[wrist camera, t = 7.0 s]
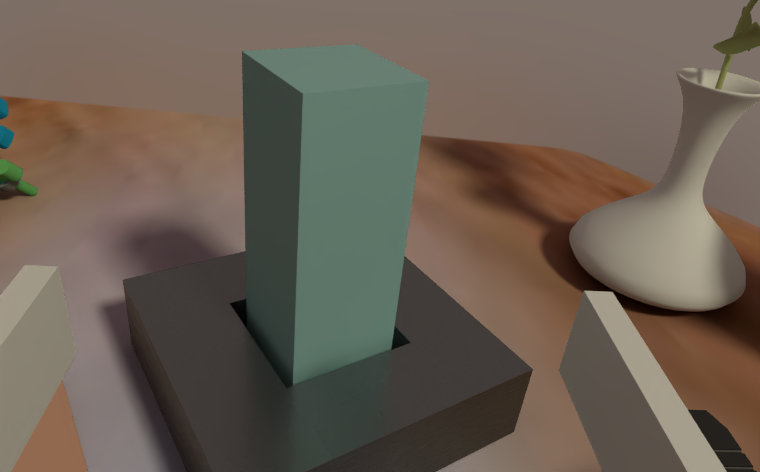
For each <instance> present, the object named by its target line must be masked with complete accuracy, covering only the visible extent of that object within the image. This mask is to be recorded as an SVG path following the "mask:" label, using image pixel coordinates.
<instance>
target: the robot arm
mask: <svg viewBox="0 0 760 472" xmlns="http://www.w3.org/2000/svg"><path fill="white" fill-rule="evenodd" d="M76 354H77V353H76V349H75V344H74V339H73V334H72V330H71V325H70V320H69V316H68V311H67V306H66V301H65V297H64V292H63V287H62V283H61V278H60V273H59V268H58V267H54V266H32V265H25V266H24V267H23V268H22V269H21V271H20V272H19V273H18V274H17V276H16V277H15V278H14V279H13V280H12V282H11V283H10V284H9V285H8V287H7V288H6V289H5V290H4V292H3V293H2V294H1V295H0V472H11V471H12V469H13V467H14V466H15V464H16V462H17V460H18V458H19V457H20V455H21V453H22V451H23V449H24V448H25V446H26V444H27V442H28V440H29V439H30V437H31V435H32V433H33V431H34V430H35V428H36V426H37V424H38V422H39V421H40V419H41V417H42V415H43V413H44V412H45V410H46V408H47V406H48V404H49V403H50V401H51V399H52V397H53V395H54V394H55V392H56V390H57V388H58V386H59V385H60V383H61V381H62V379H63V377H64V376H65V374H66V372H67V370H68V368H69V367H70V365H71V363H72V361H73V359H74V358H75V356H76ZM559 371H560V374H561V376H562V378H563V380H564V383H565V385H566V387H567V390H568V392H569V394H570V397H571V399H572V401H573V404H574V406H575V408H576V411H577V413H578V415H579V418H580V420H581V422H582V425H583V427H584V429H585V432H586V434H587V436H588V439H589V441H590V443H591V446H592V448H593V450H594V453H595V455H596V457H597V460H598V462H599V464H600V467H601V469H602V471H603V472H757V471H754V470H753V466H752V464H751V463H750V461H749V460H748V458H747V457H746V455H745V454H742V452H741V448H740V447H739V445H738V444H737V442H736V441H735V439H734V438H733V436H732V435H731V434H730V432H729V431H728V429H727V428H726V427H725V426H723V425H722V424H721V423H720V422H719V421H718V420H717V419H715V418H714V417H713V416H712V415H711V414H710V413H708V412H707V411H706V410H687V408H686V407H685V405H684V404H683V402H682V400H681V399H680V397H679V396H678V394H677V393H676V391H675V389H674V388H673V386H672V385H671V383H670V382H669V380H668V378H667V377H666V375H665V374H664V372H663V371H662V369H661V367H660V366H659V364H658V363H657V361H656V360H655V358H654V356H653V355H652V353H651V352H650V350H649V349H648V347H647V345H646V344H645V342H644V341H643V339H642V338H641V336H640V334H639V333H638V331H637V330H636V328H635V327H634V325H633V323H632V322H631V320H630V319H629V317H628V316H627V314H626V312H625V311H624V309H623V308H622V306H621V304H620V303H619V301H618V300H617V298H616V297H615V295H614V293H613V292H603V291H584V293H583V296H582V299H581V302H580V305H579V308H578V312H577V315H576V318H575V321H574V324H573V327H572V330H571V334H570V337H569V340H568V343H567V346H566V349H565V352H564V356H563V359H562V362H561V365H560V368H559Z"/></svg>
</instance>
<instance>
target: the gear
mask: <svg viewBox="0 0 760 472" xmlns="http://www.w3.org/2000/svg"><path fill="white" fill-rule="evenodd" d="M7 116H8V105H7V102H6V101H5V100H3V99H2V98H0V119H3V118H5V117H7ZM13 136H14V133H13V132H12V131H11V130H9V129H7V128H6V127H4V126H1V125H0V148H2V149H7V148H8V147H9V146H10V144H11V142H12V140H13ZM22 175H23V170H22V169H21V168H20V167H18V166H16V165H14V164H12V163H11V162H9V161H7V160H5V159H1V160H0V189H1V190H3V191H10V190H12V189H14V188H15V189H17V190H19V191H21V192H23V193H25V194H27V195H29V196H35V195H36V194H37V188H36V187H34V186H32V185H30V184H28V183H27V182H25V181H23V180H21V179H20V178H21V177H22Z"/></svg>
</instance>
